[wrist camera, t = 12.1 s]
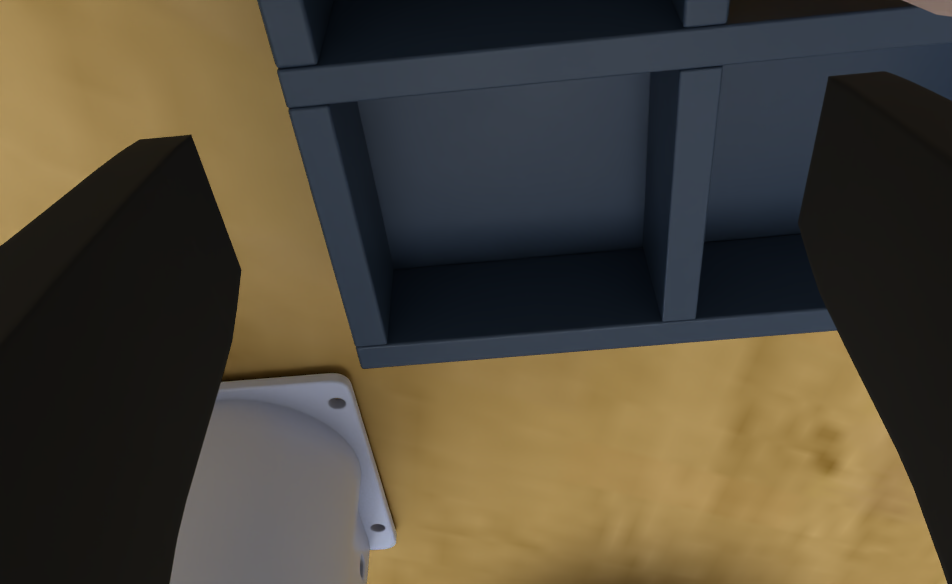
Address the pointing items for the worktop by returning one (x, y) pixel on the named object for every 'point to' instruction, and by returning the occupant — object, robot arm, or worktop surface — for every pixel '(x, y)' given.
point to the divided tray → (574, 162)
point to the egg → (934, 6)
